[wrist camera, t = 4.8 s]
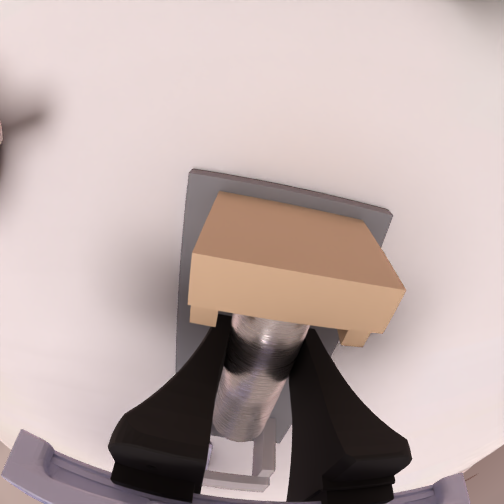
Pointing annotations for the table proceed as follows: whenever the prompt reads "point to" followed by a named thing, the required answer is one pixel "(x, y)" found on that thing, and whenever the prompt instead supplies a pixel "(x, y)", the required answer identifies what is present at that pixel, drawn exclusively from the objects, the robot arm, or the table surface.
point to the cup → (1, 134)
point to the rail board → (280, 278)
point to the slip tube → (254, 374)
